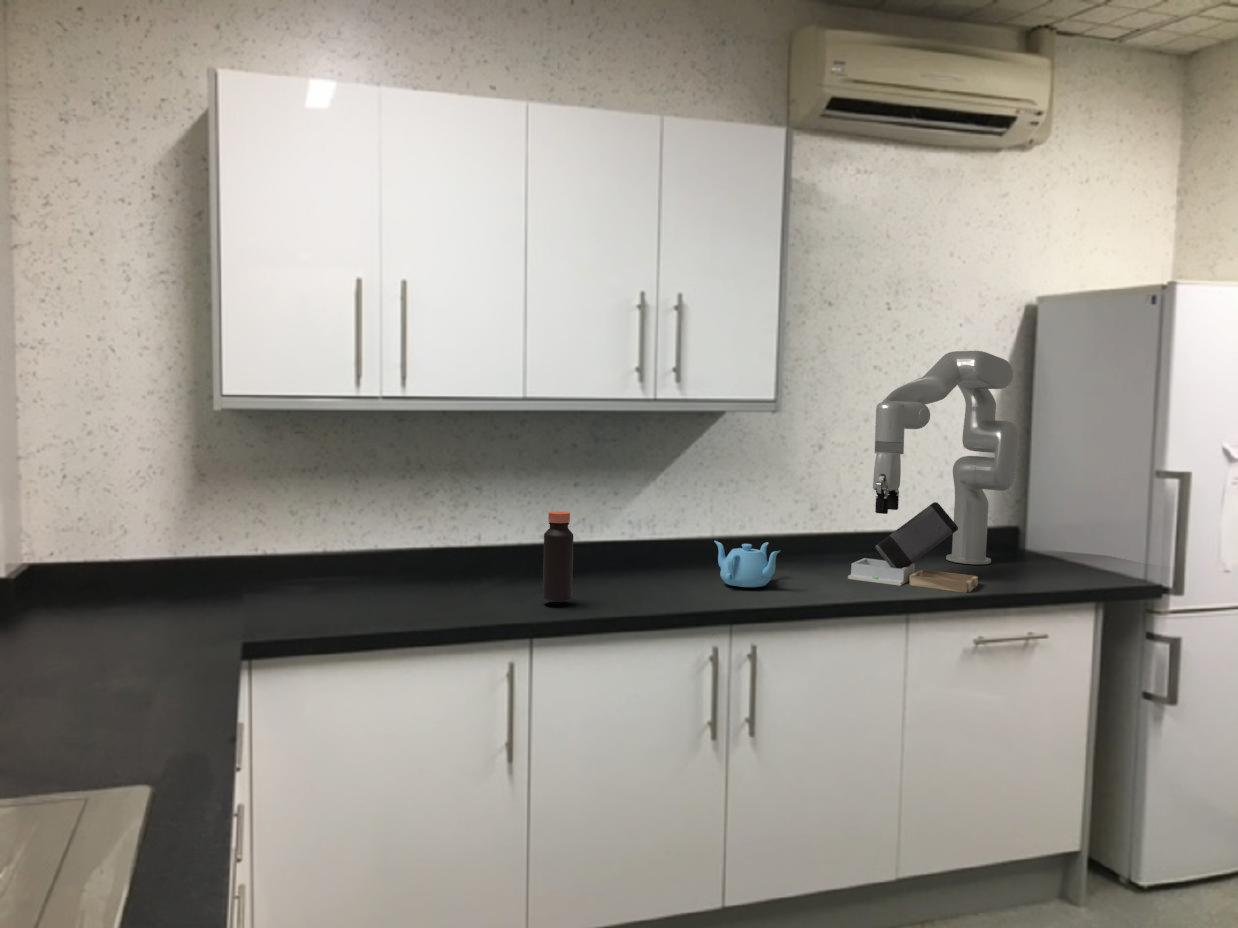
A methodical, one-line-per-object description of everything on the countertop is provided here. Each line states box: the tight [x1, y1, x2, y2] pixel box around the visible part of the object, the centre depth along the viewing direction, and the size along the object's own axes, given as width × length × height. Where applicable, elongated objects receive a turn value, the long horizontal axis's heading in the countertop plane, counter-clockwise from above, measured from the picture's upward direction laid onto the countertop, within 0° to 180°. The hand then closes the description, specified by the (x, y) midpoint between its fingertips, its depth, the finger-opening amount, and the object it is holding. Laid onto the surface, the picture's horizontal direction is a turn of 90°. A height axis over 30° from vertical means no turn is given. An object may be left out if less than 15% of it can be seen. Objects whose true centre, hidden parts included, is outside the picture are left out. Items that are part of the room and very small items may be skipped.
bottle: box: [542, 510, 574, 602], centre depth 213 cm, size 7×7×20 cm
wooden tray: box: [908, 569, 979, 593], centre depth 242 cm, size 12×15×2 cm
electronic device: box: [875, 501, 958, 569], centre depth 248 cm, size 9×6×20 cm
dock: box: [847, 557, 916, 587], centre depth 251 cm, size 16×14×4 cm
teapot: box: [713, 540, 781, 588], centre depth 237 cm, size 15×15×10 cm
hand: (886, 511), depth 250 cm, fingers open, 9 cm apart
